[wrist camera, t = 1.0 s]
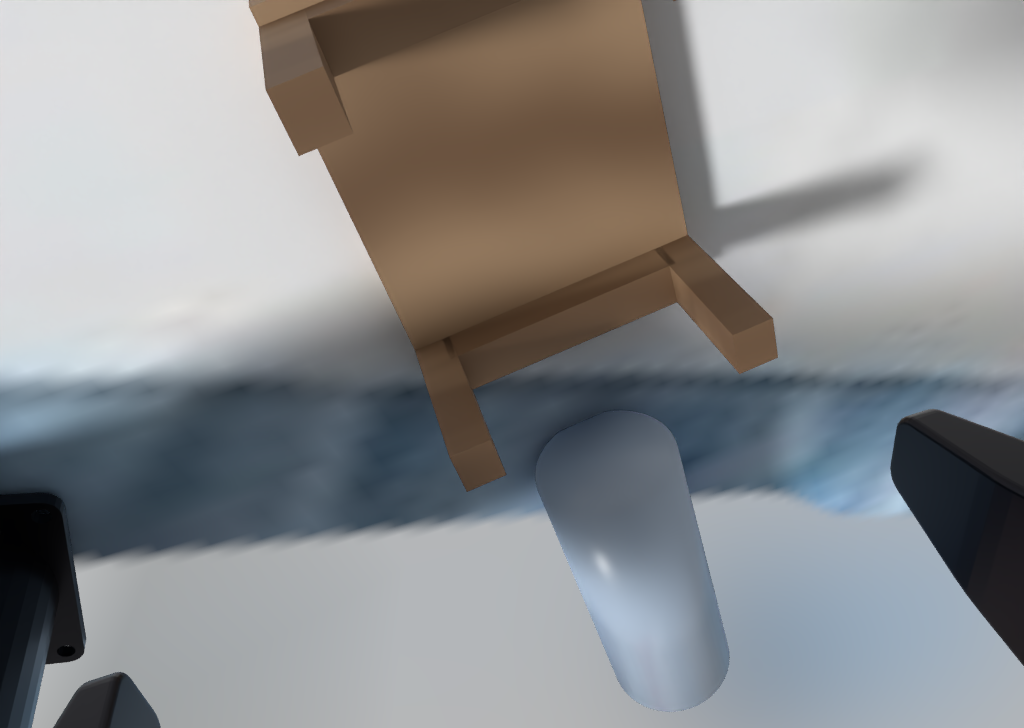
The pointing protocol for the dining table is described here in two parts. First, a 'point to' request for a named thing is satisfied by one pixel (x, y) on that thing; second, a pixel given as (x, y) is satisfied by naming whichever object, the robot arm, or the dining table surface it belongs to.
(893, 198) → the dining table surface
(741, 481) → the dining table surface
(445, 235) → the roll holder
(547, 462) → the cylinder
